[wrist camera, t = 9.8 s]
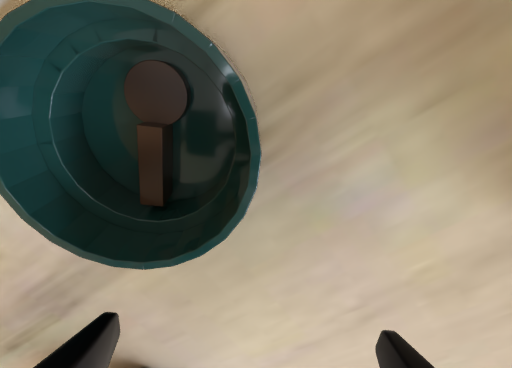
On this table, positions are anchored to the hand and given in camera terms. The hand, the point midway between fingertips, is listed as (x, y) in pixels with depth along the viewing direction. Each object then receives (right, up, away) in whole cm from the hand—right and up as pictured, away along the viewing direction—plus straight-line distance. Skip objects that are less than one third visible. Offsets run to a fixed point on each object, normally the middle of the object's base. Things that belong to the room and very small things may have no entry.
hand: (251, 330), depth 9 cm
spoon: (-6, +8, +9) cm, 14 cm away
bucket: (-6, +9, +9) cm, 14 cm away
